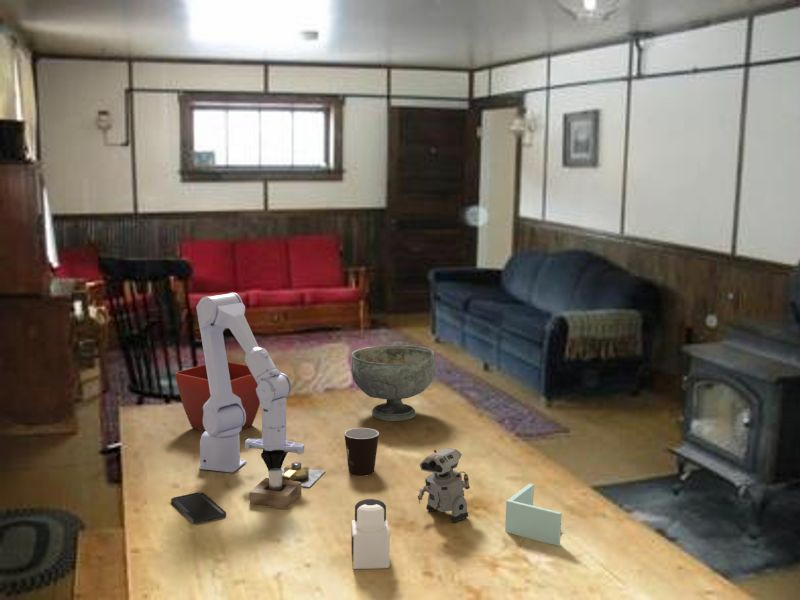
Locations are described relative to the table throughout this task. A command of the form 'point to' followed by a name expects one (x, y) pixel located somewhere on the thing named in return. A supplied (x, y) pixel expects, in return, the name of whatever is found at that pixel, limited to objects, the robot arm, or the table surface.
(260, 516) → the table surface
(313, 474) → the plate
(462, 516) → the figurine
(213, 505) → the phone
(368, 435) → the coffee mug
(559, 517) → the l-shaped corner panel
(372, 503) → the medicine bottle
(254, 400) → the plant pot
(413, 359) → the decorative bowl
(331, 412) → the table surface
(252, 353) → the robot arm
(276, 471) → the pin
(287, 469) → the ring nut
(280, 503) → the socket block
